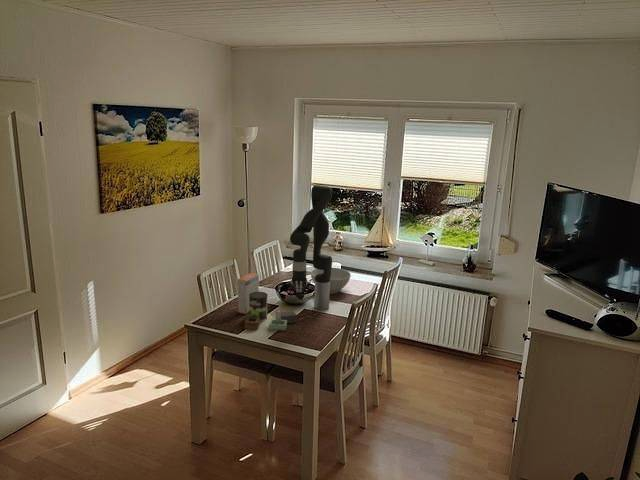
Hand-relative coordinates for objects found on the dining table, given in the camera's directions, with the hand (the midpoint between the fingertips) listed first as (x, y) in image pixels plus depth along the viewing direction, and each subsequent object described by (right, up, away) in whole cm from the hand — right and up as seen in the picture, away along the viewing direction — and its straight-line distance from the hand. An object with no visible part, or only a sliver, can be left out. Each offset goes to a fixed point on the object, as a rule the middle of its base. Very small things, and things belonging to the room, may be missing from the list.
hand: (299, 297), depth 257 cm
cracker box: (-31, -10, +18) cm, 37 cm away
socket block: (-25, -15, -4) cm, 30 cm away
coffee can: (-24, -13, +7) cm, 28 cm away
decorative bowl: (+18, -2, +55) cm, 58 cm away
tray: (-11, -16, -4) cm, 20 cm away
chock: (-7, -14, +5) cm, 16 cm away
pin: (-11, -15, -4) cm, 19 cm away
